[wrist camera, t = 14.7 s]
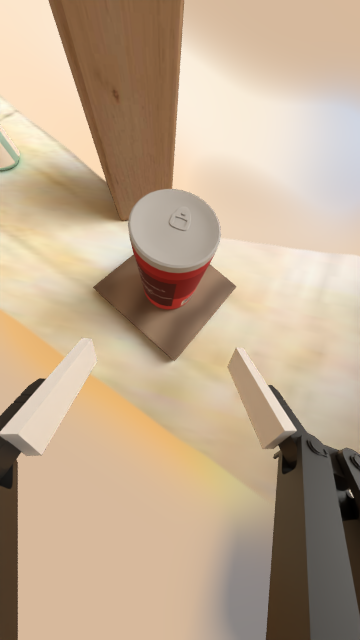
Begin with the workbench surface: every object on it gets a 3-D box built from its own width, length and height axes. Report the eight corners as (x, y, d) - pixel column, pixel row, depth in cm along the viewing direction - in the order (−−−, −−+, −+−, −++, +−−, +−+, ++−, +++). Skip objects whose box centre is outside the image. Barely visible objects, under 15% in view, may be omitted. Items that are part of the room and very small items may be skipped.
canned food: (193, 267, 23) (220, 195, 12) (192, 313, 21) (223, 273, 11) (146, 262, 22) (133, 179, 12) (141, 309, 20) (120, 261, 10)
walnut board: (230, 291, 25) (236, 286, 23) (173, 360, 21) (174, 361, 19) (166, 237, 26) (166, 228, 24) (98, 292, 22) (93, 287, 20)
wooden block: (121, 222, 26) (0, -175, 6) (106, 182, 27) (-25, -227, 8) (171, 213, 28) (194, -108, 8) (154, 176, 29) (142, -161, 10)
